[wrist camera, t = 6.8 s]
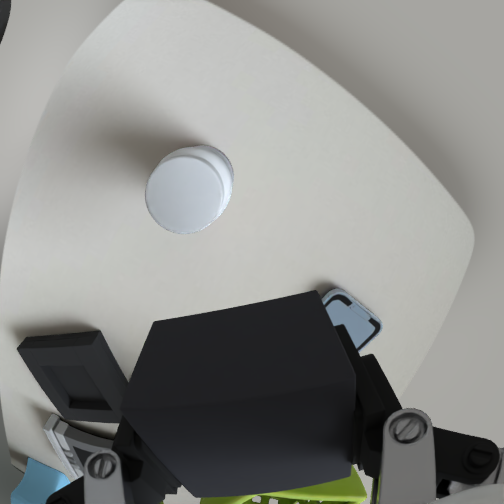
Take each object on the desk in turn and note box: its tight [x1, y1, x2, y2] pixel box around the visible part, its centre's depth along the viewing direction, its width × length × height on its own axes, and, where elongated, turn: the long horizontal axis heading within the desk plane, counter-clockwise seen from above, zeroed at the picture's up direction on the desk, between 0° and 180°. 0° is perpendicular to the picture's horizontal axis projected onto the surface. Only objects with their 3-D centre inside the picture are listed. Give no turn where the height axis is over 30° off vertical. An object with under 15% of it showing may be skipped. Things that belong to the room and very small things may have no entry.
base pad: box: [17, 331, 129, 423], centre depth 28 cm, size 12×12×2 cm
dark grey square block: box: [120, 290, 356, 498], centre depth 9 cm, size 6×6×4 cm
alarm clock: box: [43, 413, 114, 479], centre depth 35 cm, size 17×5×16 cm
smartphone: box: [321, 289, 383, 353], centre depth 28 cm, size 7×1×15 cm
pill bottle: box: [145, 145, 234, 234], centre depth 18 cm, size 5×5×8 cm
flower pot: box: [200, 465, 367, 504], centre depth 28 cm, size 14×14×13 cm
